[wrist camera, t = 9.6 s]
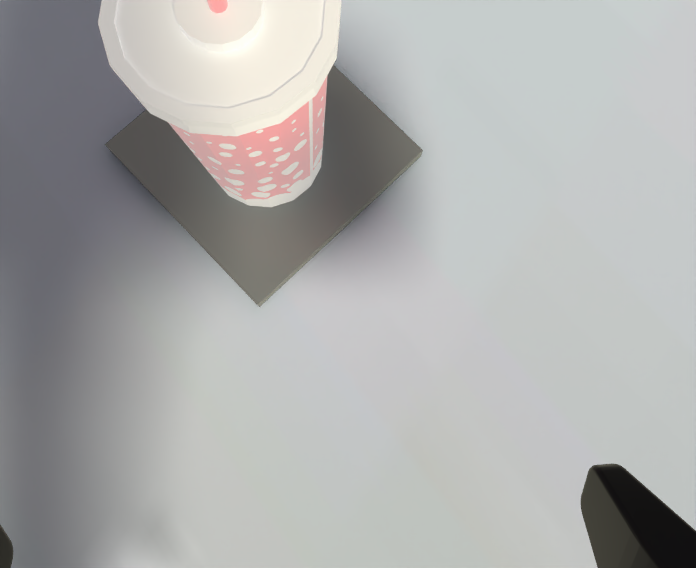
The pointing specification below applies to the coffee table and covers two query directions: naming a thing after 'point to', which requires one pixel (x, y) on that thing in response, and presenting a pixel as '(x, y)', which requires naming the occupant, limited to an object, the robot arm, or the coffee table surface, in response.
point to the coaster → (282, 220)
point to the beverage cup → (233, 83)
